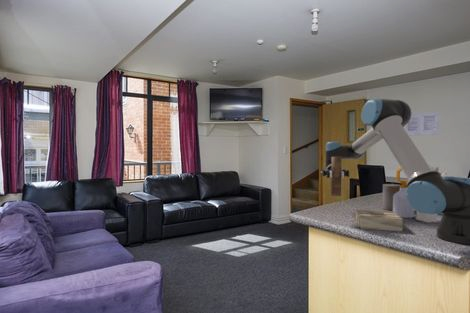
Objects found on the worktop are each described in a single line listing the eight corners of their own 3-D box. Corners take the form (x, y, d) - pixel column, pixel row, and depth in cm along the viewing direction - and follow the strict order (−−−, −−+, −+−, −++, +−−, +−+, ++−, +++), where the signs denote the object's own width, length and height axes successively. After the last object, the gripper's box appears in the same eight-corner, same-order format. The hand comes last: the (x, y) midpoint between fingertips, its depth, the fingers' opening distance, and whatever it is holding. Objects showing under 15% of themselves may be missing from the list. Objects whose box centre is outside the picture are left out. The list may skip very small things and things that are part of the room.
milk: (437, 222, 141) (439, 174, 141) (427, 222, 140) (428, 174, 139) (425, 218, 147) (427, 173, 146) (415, 219, 145) (417, 173, 145)
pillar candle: (404, 209, 170) (404, 182, 170) (397, 211, 163) (398, 183, 163) (386, 207, 177) (386, 181, 177) (379, 209, 170) (379, 182, 170)
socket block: (355, 219, 144) (355, 209, 144) (392, 222, 140) (392, 211, 140) (360, 228, 129) (360, 216, 129) (402, 231, 125) (402, 219, 125)
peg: (342, 196, 140) (343, 156, 140) (333, 196, 140) (333, 156, 139) (338, 194, 144) (338, 156, 144) (329, 194, 144) (329, 156, 144)
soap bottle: (416, 218, 148) (417, 168, 147) (395, 217, 149) (396, 167, 149) (409, 214, 156) (410, 166, 156) (390, 213, 158) (391, 166, 157)
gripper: (351, 179, 157) (357, 183, 134) (316, 178, 161) (316, 182, 139) (351, 164, 157) (358, 166, 134) (316, 163, 161) (317, 166, 139)
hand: (337, 174), depth 137 cm, fingers closed on peg, 4 cm apart
